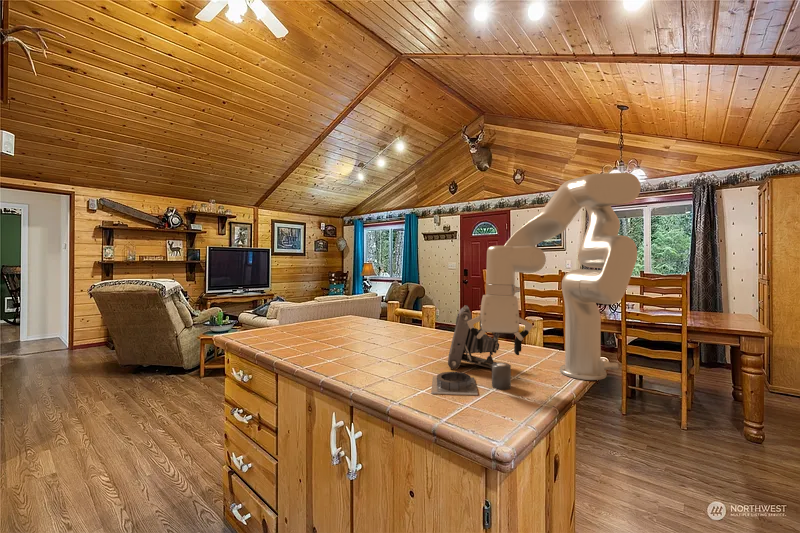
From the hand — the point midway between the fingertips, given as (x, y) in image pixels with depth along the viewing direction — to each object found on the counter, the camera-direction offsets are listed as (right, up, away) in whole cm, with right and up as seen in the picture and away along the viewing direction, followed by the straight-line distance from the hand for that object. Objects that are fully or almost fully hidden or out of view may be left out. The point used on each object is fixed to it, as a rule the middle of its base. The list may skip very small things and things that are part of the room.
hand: (498, 353), depth 98 cm
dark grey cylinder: (+1, -9, +1) cm, 9 cm away
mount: (-12, -10, +1) cm, 15 cm away
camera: (-3, -9, +20) cm, 22 cm away
